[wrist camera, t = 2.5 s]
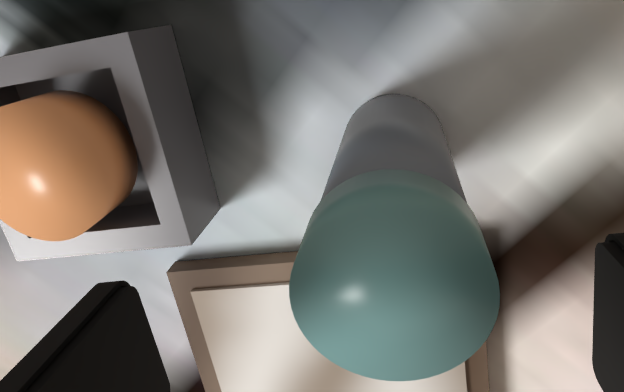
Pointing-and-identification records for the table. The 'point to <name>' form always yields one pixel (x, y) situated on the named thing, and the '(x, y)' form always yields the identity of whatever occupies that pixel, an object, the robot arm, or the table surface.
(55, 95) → the button
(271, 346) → the board
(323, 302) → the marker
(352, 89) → the table surface
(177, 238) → the button housing
